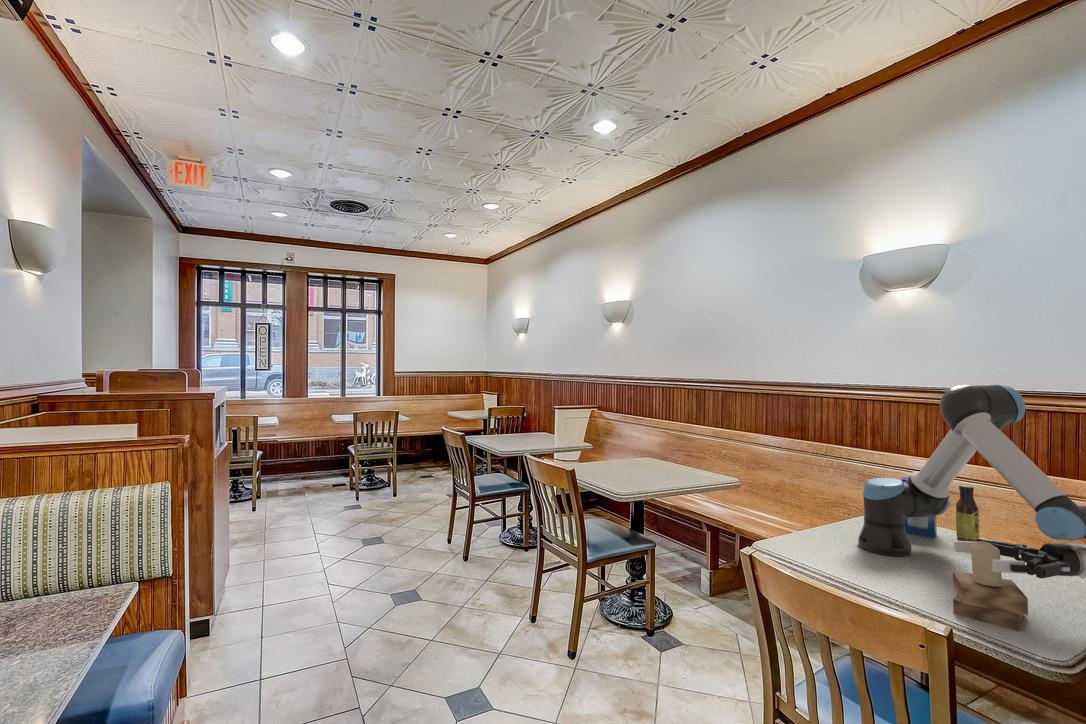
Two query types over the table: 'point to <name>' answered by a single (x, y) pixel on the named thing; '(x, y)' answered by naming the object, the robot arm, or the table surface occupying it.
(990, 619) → the tower base
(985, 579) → the candle
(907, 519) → the milk carton
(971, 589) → the tower top
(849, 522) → the table surface
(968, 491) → the sauce bottle
